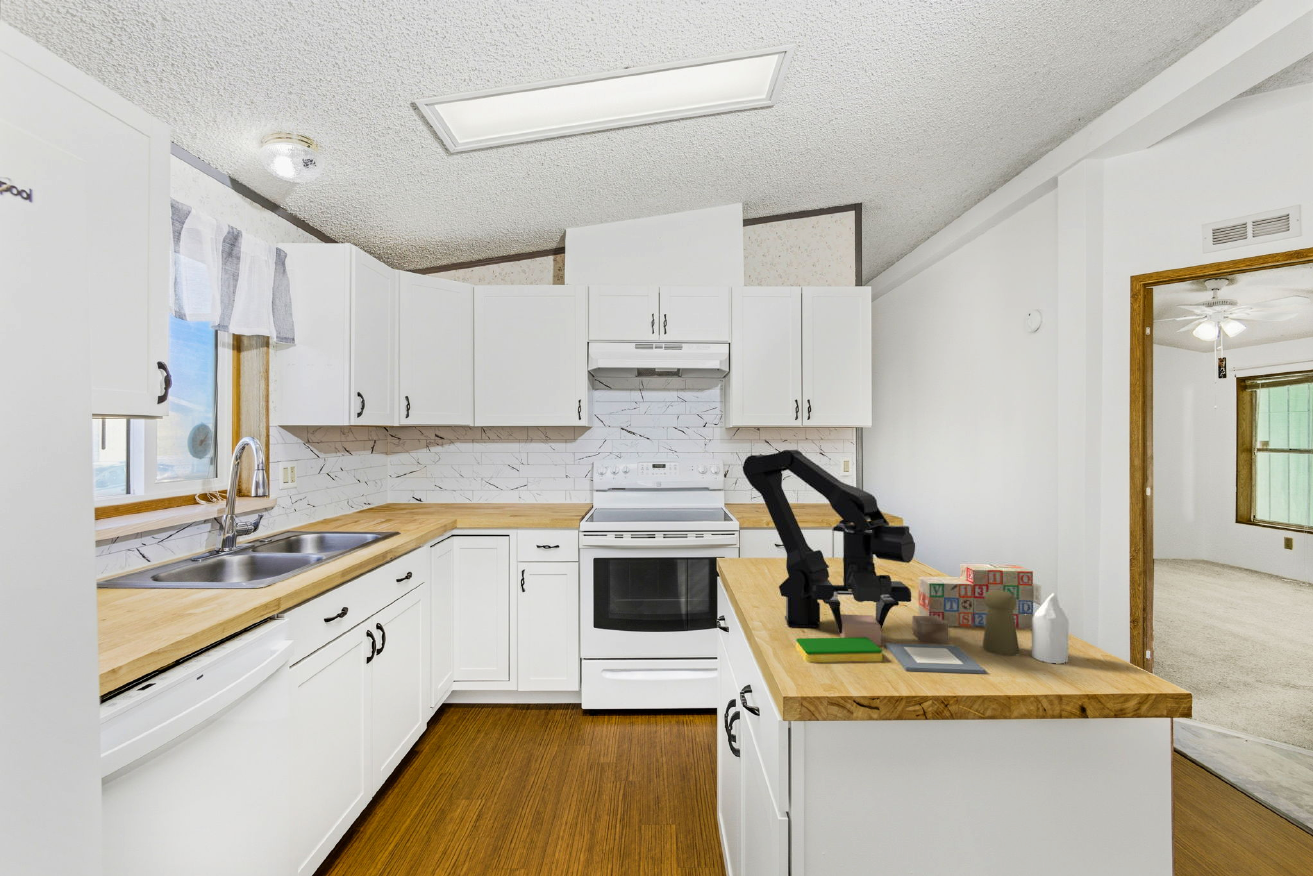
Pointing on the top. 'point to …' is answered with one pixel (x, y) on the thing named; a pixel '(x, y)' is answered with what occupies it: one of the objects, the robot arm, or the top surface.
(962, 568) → the stack of blocks
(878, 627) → the pink square block
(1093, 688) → the top surface
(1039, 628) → the white pointed cylinder
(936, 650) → the slate mat
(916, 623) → the walnut cube
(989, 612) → the cork
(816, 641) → the dish sponge
